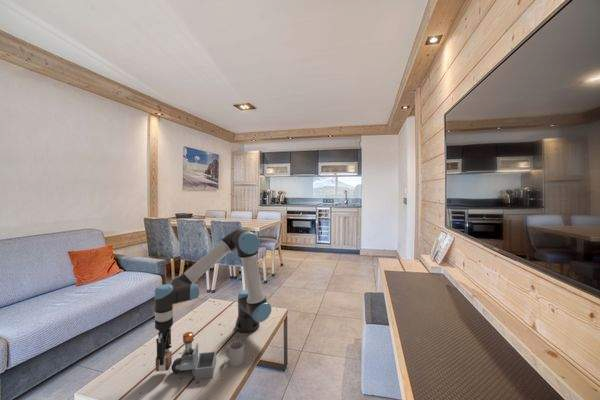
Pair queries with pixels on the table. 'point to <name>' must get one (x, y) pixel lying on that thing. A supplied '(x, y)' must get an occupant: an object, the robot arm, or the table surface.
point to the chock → (168, 361)
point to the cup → (235, 353)
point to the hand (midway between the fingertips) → (164, 366)
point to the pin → (188, 342)
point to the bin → (205, 365)
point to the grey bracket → (186, 362)
